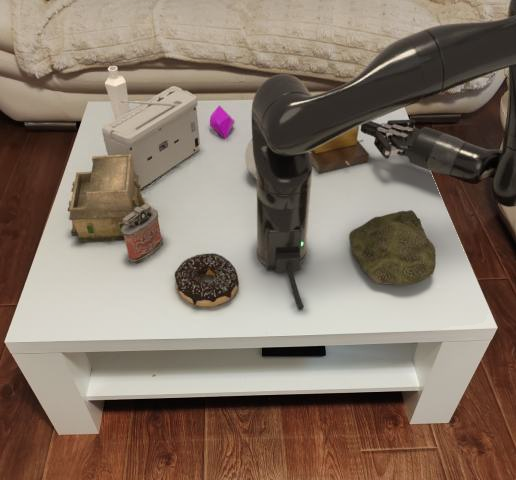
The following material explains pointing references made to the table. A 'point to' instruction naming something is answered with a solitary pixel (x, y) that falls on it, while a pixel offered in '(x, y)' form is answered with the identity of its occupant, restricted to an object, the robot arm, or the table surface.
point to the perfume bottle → (117, 92)
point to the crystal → (221, 121)
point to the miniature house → (104, 198)
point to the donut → (206, 290)
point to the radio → (156, 133)
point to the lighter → (142, 233)
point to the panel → (339, 158)
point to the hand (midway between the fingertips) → (362, 125)
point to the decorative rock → (394, 249)
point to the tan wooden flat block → (339, 141)
